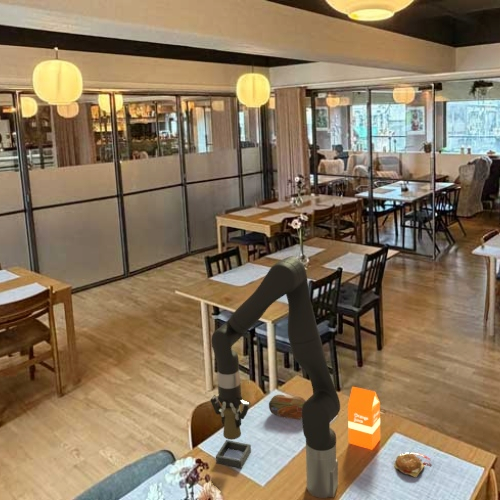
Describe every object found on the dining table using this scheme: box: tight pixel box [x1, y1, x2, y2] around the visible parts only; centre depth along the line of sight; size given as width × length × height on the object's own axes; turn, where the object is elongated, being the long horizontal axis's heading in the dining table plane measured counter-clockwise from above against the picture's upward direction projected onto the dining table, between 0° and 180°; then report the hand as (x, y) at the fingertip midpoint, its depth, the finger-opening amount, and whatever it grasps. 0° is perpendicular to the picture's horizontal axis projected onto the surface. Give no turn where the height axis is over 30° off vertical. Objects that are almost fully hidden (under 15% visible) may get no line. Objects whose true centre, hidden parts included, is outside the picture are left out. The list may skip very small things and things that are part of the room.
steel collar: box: [215, 439, 252, 470], centre depth 187 cm, size 9×9×3 cm
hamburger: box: [394, 451, 432, 478], centre depth 179 cm, size 14×14×6 cm
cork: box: [222, 408, 242, 441], centre depth 183 cm, size 6×6×11 cm
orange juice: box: [347, 386, 381, 451], centre depth 191 cm, size 8×9×20 cm
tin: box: [268, 394, 307, 420], centre depth 208 cm, size 15×3×8 cm, turn 73°
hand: (231, 425), depth 184 cm, fingers closed on cork, 4 cm apart
